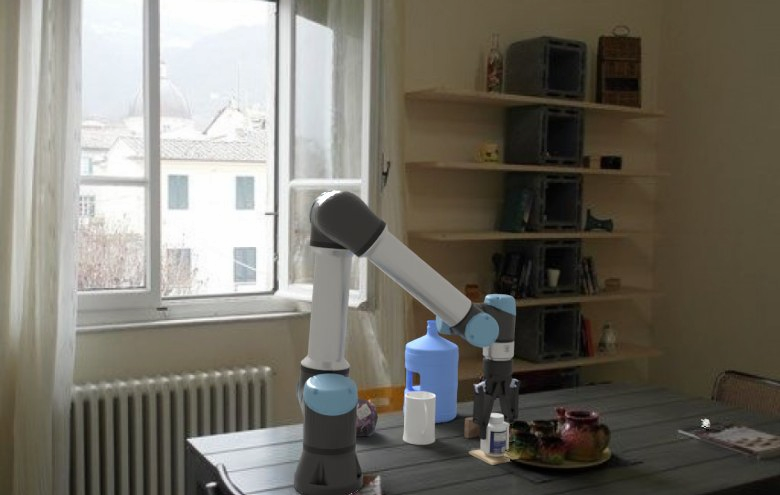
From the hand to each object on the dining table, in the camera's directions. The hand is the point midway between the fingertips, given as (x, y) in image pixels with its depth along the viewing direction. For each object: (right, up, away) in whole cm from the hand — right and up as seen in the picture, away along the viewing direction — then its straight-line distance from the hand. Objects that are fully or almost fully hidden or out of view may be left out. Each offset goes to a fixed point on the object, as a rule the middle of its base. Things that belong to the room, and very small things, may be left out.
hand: (494, 449), depth 189 cm
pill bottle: (0, -1, 0) cm, 1 cm away
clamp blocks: (0, -1, +13) cm, 13 cm away
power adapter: (+63, -2, +29) cm, 69 cm away
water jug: (-14, +1, +34) cm, 37 cm away
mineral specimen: (-34, 0, +15) cm, 37 cm away
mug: (-18, -1, +10) cm, 21 cm away
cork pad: (0, -2, 0) cm, 2 cm away
